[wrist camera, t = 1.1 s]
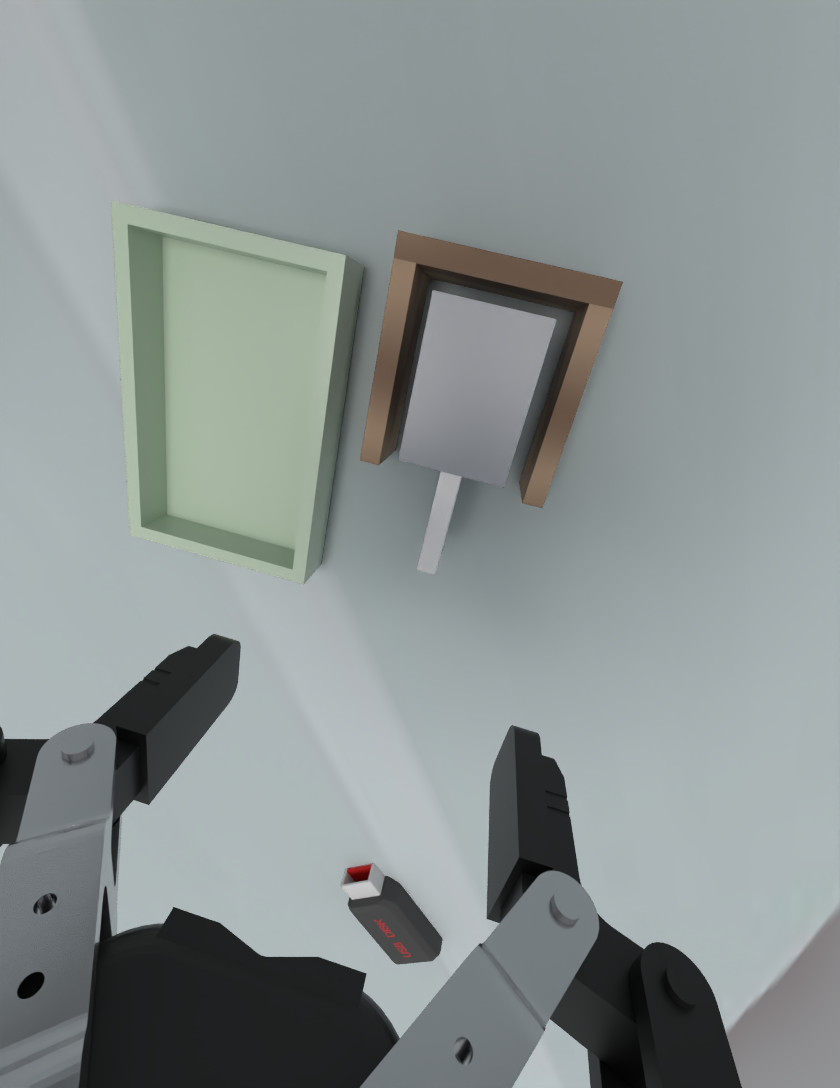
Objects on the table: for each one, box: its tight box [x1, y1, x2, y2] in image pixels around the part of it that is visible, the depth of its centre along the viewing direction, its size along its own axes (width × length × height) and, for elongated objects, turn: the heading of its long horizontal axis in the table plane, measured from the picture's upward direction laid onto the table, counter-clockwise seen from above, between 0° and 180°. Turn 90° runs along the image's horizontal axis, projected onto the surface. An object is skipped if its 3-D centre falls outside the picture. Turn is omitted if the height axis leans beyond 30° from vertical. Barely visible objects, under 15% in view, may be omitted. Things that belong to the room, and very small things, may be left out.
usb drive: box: [341, 863, 442, 964], centre depth 43 cm, size 5×12×3 cm, turn 29°
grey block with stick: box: [398, 290, 557, 575], centre depth 23 cm, size 12×5×6 cm, turn 167°
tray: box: [111, 200, 364, 584], centre depth 26 cm, size 18×12×3 cm, turn 167°
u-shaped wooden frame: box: [360, 231, 623, 508], centre depth 22 cm, size 10×10×4 cm
